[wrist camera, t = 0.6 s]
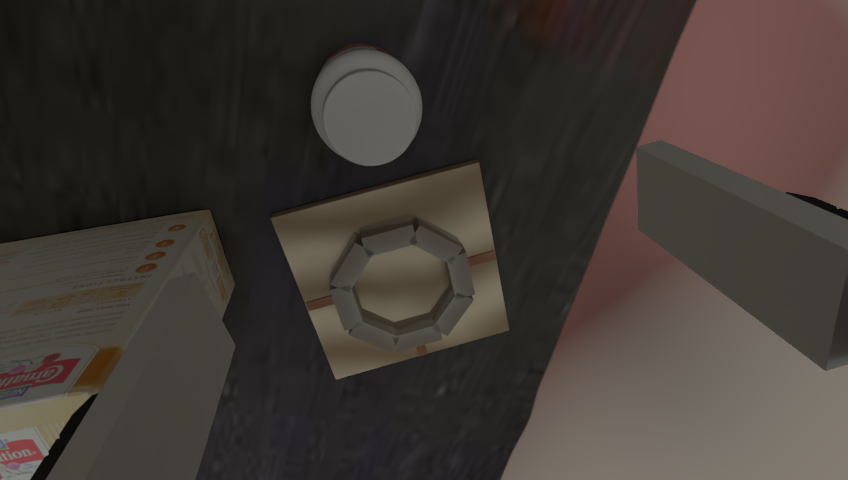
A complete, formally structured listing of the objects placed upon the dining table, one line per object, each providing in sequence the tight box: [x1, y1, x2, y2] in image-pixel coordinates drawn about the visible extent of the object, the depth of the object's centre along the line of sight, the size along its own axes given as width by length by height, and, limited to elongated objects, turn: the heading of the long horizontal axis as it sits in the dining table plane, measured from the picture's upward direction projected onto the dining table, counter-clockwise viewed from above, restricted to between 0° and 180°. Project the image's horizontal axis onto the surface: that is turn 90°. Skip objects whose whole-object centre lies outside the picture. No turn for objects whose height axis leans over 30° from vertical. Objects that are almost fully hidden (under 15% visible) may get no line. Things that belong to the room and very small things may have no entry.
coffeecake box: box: [0, 209, 235, 480], centre depth 28 cm, size 15×7×20 cm, turn 97°
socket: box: [271, 159, 509, 379], centre depth 39 cm, size 16×16×3 cm
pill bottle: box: [311, 44, 422, 166], centre depth 29 cm, size 6×6×11 cm
